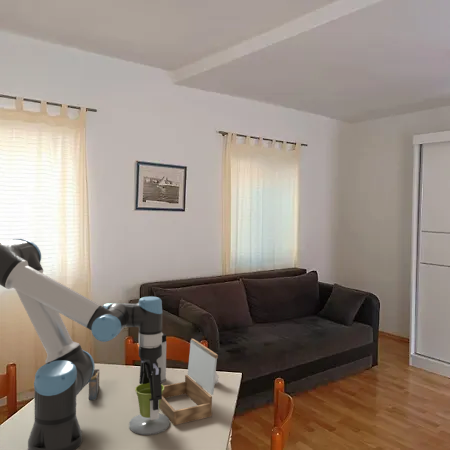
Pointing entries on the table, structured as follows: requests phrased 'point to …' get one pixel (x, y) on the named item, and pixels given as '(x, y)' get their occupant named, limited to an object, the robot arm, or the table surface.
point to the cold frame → (193, 393)
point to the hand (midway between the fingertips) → (150, 412)
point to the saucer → (148, 424)
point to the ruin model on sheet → (94, 385)
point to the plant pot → (145, 398)
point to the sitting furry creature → (215, 379)
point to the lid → (202, 365)
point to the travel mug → (163, 359)
